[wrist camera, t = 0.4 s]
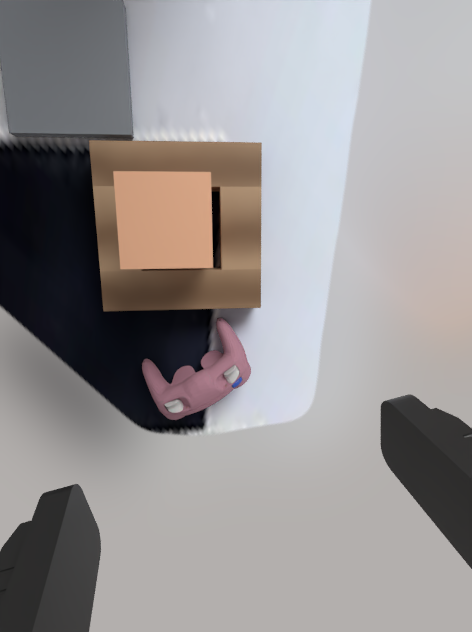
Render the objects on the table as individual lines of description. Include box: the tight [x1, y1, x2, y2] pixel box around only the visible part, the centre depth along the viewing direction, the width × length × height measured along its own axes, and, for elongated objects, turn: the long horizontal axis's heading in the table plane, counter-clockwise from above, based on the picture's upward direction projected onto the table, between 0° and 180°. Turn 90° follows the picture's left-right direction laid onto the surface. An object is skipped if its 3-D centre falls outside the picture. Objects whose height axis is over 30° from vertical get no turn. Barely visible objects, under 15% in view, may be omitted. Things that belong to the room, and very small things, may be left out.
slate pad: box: [0, 0, 133, 138], centre depth 30 cm, size 10×10×1 cm
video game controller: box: [142, 318, 251, 420], centre depth 34 cm, size 10×5×7 cm, turn 119°
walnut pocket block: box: [89, 140, 261, 311], centre depth 32 cm, size 14×14×3 cm
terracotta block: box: [113, 171, 213, 269], centre depth 26 cm, size 5×5×15 cm
